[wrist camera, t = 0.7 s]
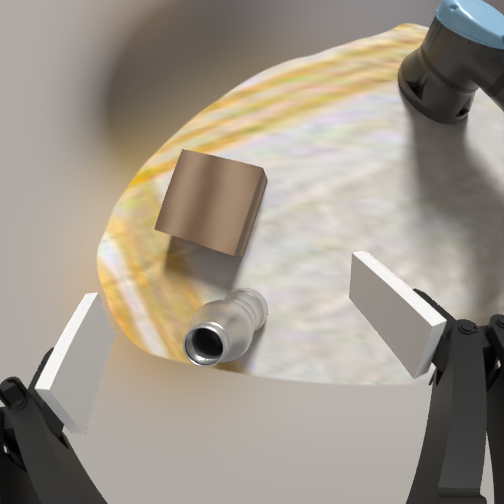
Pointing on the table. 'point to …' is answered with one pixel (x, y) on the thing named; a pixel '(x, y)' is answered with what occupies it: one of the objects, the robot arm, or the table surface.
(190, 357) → the plastic bottle
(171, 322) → the table surface
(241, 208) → the walnut block
